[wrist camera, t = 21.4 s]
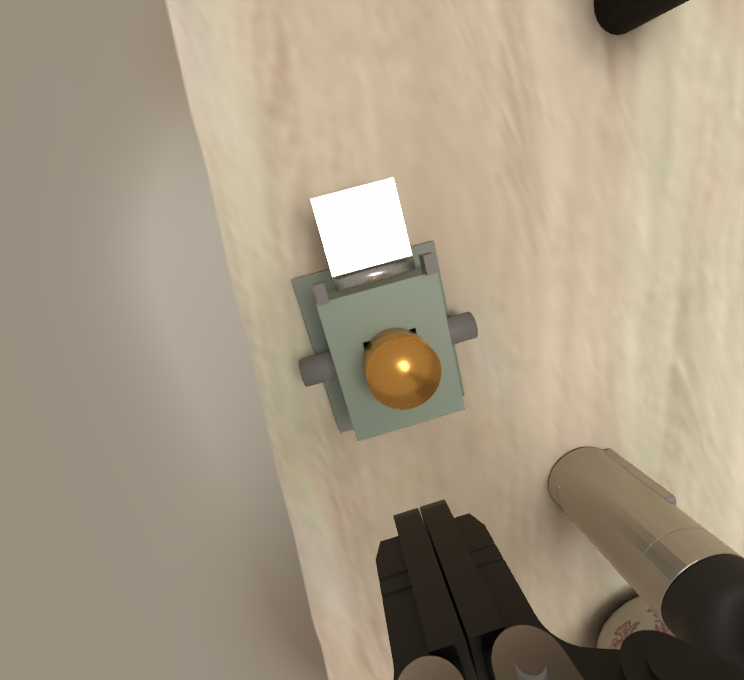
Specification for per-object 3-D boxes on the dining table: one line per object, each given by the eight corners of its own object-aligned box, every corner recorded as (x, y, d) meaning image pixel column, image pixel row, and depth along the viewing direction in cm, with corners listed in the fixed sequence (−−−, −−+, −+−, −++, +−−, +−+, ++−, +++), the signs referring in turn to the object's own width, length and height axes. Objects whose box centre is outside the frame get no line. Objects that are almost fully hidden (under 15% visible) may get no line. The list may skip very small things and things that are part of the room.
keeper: (413, 270, 33) (391, 180, 31) (416, 270, 32) (394, 176, 30) (336, 291, 33) (310, 201, 31) (336, 292, 31) (309, 198, 30)
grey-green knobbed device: (445, 237, 39) (475, 237, 32) (473, 389, 45) (506, 421, 37) (277, 282, 38) (267, 294, 31) (327, 433, 44) (328, 475, 36)
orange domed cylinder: (406, 307, 40) (433, 330, 30) (418, 360, 42) (447, 397, 32) (349, 323, 39) (359, 351, 30) (364, 376, 41) (378, 418, 32)
